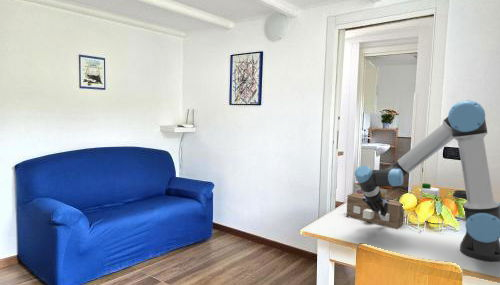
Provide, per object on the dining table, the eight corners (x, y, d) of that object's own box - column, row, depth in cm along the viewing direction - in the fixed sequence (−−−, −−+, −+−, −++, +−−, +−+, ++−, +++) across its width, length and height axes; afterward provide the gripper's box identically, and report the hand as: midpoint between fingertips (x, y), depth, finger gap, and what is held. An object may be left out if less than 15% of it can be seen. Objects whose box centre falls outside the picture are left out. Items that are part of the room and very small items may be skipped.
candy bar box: (352, 209, 210) (353, 182, 208) (353, 207, 214) (354, 180, 213) (371, 212, 205) (373, 184, 204) (372, 210, 210) (374, 183, 208)
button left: (359, 214, 190) (360, 206, 190) (353, 212, 193) (353, 205, 193) (365, 212, 195) (365, 204, 194) (358, 210, 197) (358, 203, 197)
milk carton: (420, 217, 198) (423, 182, 196) (438, 220, 193) (441, 184, 191) (417, 220, 191) (420, 184, 189) (435, 224, 186) (438, 187, 184)
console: (396, 229, 177) (399, 194, 175) (346, 216, 196) (348, 184, 194) (402, 225, 182) (405, 191, 181) (353, 213, 202) (355, 182, 200)
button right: (388, 221, 179) (389, 214, 178) (380, 219, 181) (381, 212, 181) (393, 219, 183) (393, 211, 183) (385, 217, 186) (386, 210, 185)
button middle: (369, 219, 181) (370, 212, 181) (362, 217, 184) (363, 210, 184) (375, 217, 185) (375, 209, 185) (367, 215, 188) (368, 208, 188)
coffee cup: (449, 214, 206) (451, 189, 204) (471, 216, 202) (473, 191, 200) (452, 219, 195) (454, 193, 194) (476, 222, 191) (478, 195, 190)
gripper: (355, 194, 168) (369, 221, 182) (382, 200, 159) (394, 227, 173) (361, 182, 172) (374, 209, 185) (387, 187, 163) (399, 215, 176)
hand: (383, 218), depth 179 cm, fingers closed
